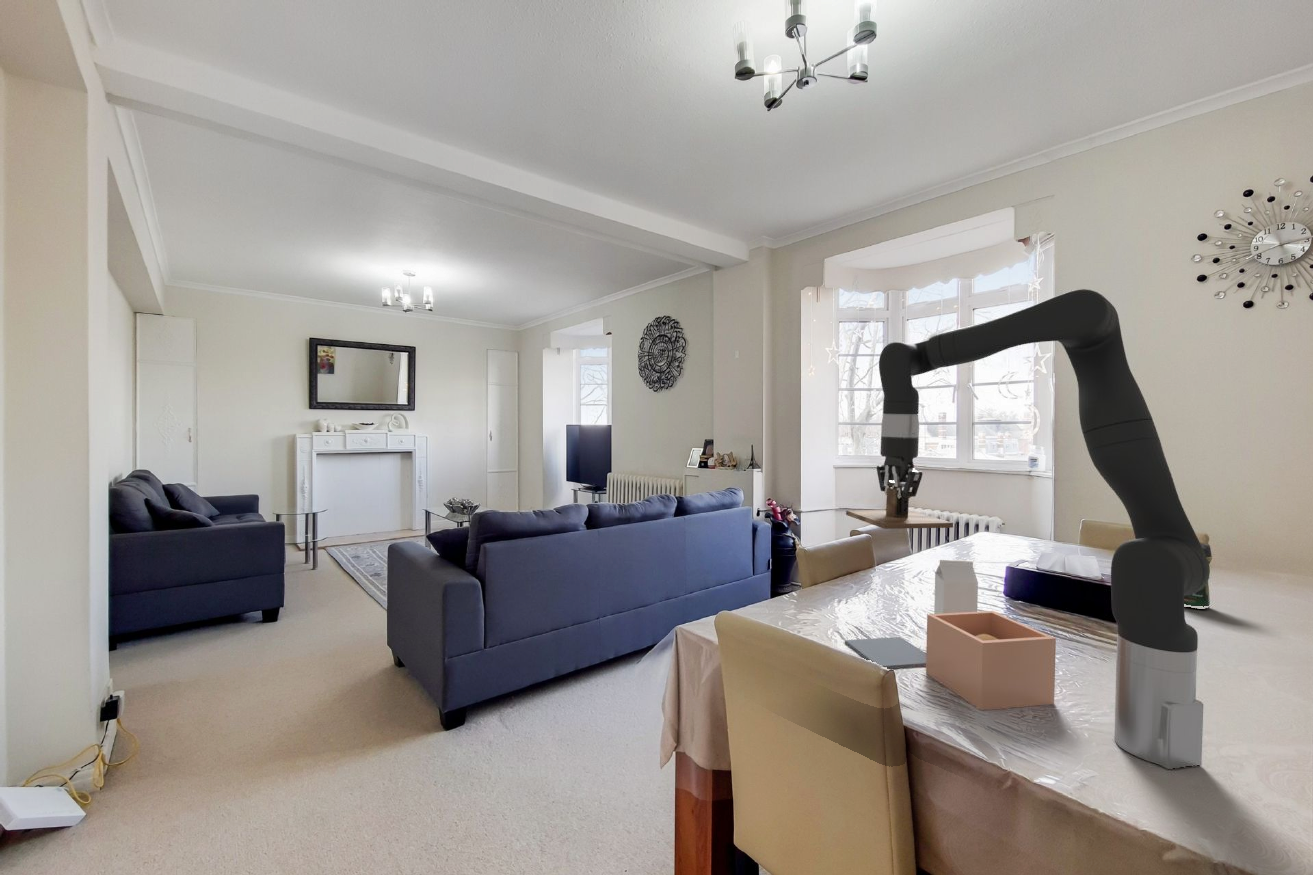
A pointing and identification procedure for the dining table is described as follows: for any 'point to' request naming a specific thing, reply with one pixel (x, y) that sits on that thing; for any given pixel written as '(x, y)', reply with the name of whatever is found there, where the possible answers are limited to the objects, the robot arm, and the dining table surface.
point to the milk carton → (955, 587)
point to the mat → (889, 652)
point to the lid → (897, 516)
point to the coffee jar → (1203, 595)
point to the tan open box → (991, 659)
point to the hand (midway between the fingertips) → (896, 513)
